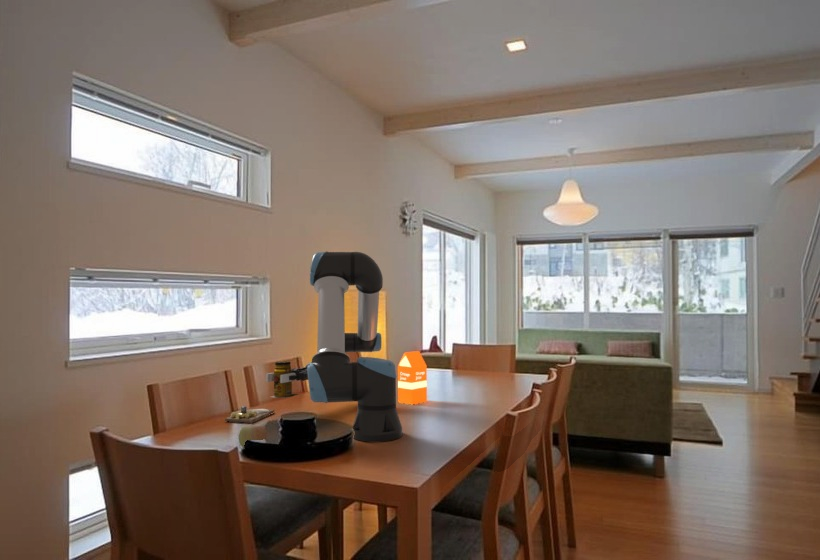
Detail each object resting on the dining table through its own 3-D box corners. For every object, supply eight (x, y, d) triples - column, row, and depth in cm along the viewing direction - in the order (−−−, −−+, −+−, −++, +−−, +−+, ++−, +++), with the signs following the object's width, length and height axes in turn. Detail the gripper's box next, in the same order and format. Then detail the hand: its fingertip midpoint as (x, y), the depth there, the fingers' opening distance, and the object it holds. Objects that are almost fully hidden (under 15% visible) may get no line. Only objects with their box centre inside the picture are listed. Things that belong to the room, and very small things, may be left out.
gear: (248, 419, 183) (248, 409, 183) (225, 418, 185) (225, 409, 185) (261, 414, 191) (261, 404, 191) (239, 413, 193) (239, 404, 193)
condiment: (268, 397, 187) (268, 362, 188) (283, 393, 195) (283, 360, 196) (286, 398, 184) (286, 363, 185) (300, 394, 192) (300, 360, 193)
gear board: (252, 423, 182) (251, 419, 182) (225, 422, 185) (225, 417, 185) (274, 413, 198) (274, 409, 198) (249, 412, 200) (249, 408, 200)
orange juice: (427, 401, 217) (426, 351, 217) (412, 405, 210) (411, 353, 211) (413, 399, 222) (412, 350, 223) (397, 402, 216) (397, 352, 216)
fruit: (243, 454, 146) (243, 424, 147) (235, 448, 152) (235, 419, 153) (271, 449, 150) (270, 420, 151) (262, 443, 157) (262, 415, 157)
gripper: (338, 382, 200) (294, 391, 181) (299, 379, 210) (254, 387, 190) (338, 362, 201) (294, 368, 181) (299, 360, 210) (254, 366, 191)
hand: (274, 378), depth 186 cm, fingers closed on condiment, 6 cm apart
